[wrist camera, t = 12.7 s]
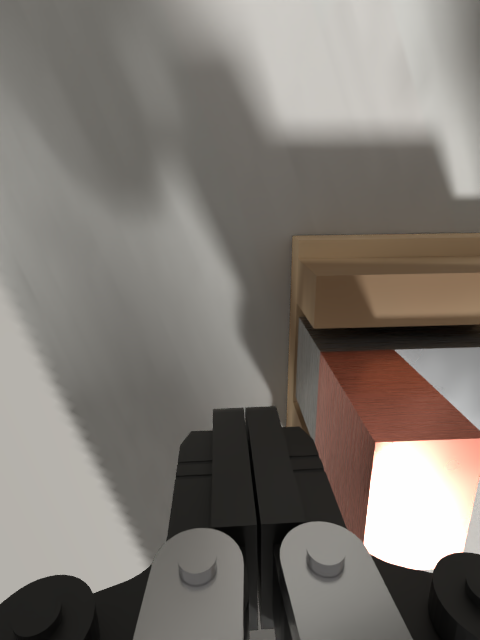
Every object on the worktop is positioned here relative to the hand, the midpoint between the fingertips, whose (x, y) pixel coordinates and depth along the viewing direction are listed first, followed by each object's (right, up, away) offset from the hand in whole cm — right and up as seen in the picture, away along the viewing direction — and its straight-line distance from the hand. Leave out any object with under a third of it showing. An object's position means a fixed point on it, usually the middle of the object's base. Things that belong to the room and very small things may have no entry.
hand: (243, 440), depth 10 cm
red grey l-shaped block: (+5, +2, +4) cm, 7 cm away
